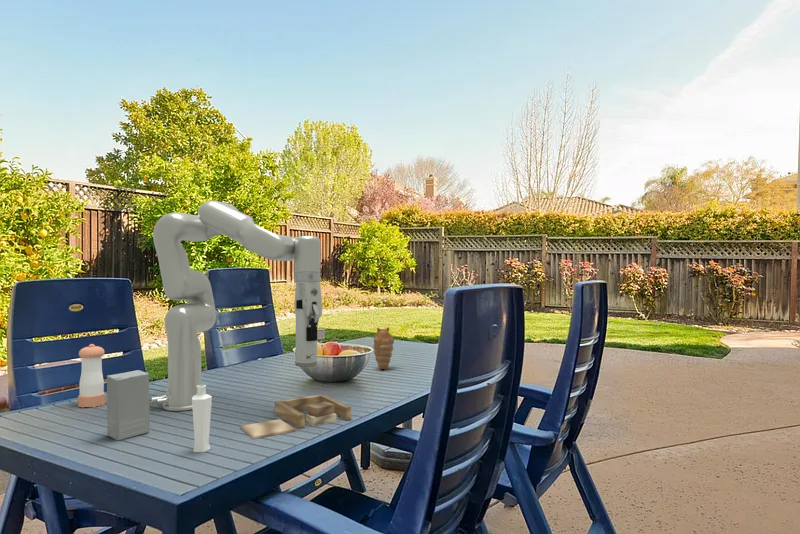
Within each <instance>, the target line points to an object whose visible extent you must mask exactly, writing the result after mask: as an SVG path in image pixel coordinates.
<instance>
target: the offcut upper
mask: <svg viewBox="0 0 800 534" xmlns="http://www.w3.org/2000/svg"><path fill="white" fill-rule="evenodd" d="M306 412H307V413H306V414H307V415H310V416H313V417H316V418H318V417H322V416H326V415H330V414H334V404H331V403H328V402H321V403H316V404H312V405H308V406H307V410H306Z"/></svg>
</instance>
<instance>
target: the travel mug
mask: <svg viewBox="0 0 800 534" xmlns="http://www.w3.org/2000/svg"><path fill="white" fill-rule="evenodd" d="M296 305H297V306H296V314H295V343H294V344H295V349H294V350H295V351H294V352H295V354H294V355H295V357H294V358H295V360H294V362H295V363H294V365H295V366H296V367H299V368H311V367H316V366H317V365H318V340H317V341H306V327H308V325H307V318H306V317H304V313H303V307H302V306H303V304H302V300H296ZM309 316H314V314H309ZM311 320H312V319H310V322H311Z"/></svg>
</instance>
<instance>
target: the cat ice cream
mask: <svg viewBox="0 0 800 534" xmlns="http://www.w3.org/2000/svg"><path fill="white" fill-rule="evenodd" d="M394 343H395V339H394V338H393V337H392V335H391V334H390V327H389V326H388V327H387V328H379V327H376V334H375V337H374V339H373V347H372V349H374V351H373V354H374V356H375V361H376V363H377V367H378V368H379V369H380V370H381V369H385V370H386V369H388V368H389V364H390V362H391V358H392V356H393V353H392V352H393V350H394V347H393V344H394Z"/></svg>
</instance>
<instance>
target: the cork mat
mask: <svg viewBox="0 0 800 534" xmlns="http://www.w3.org/2000/svg"><path fill="white" fill-rule="evenodd" d="M239 428H240V429H241V430H242V431H243V432H245V434H247V435H248V436H249V437H250V438H252V439H253V440H255V439H257V440H258V439H262V438H266V437H272V436H277V435H283V434H287V433H289V434H290V433H294V432H296V428H294V427H293V426H291V425H289V424H288V423H286V422H285V421H284V420H282V419H280V418H279V419H273V420H267V421H262V422H254V423H250V424H244V425H243V424H242V425H240V427H239Z"/></svg>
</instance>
